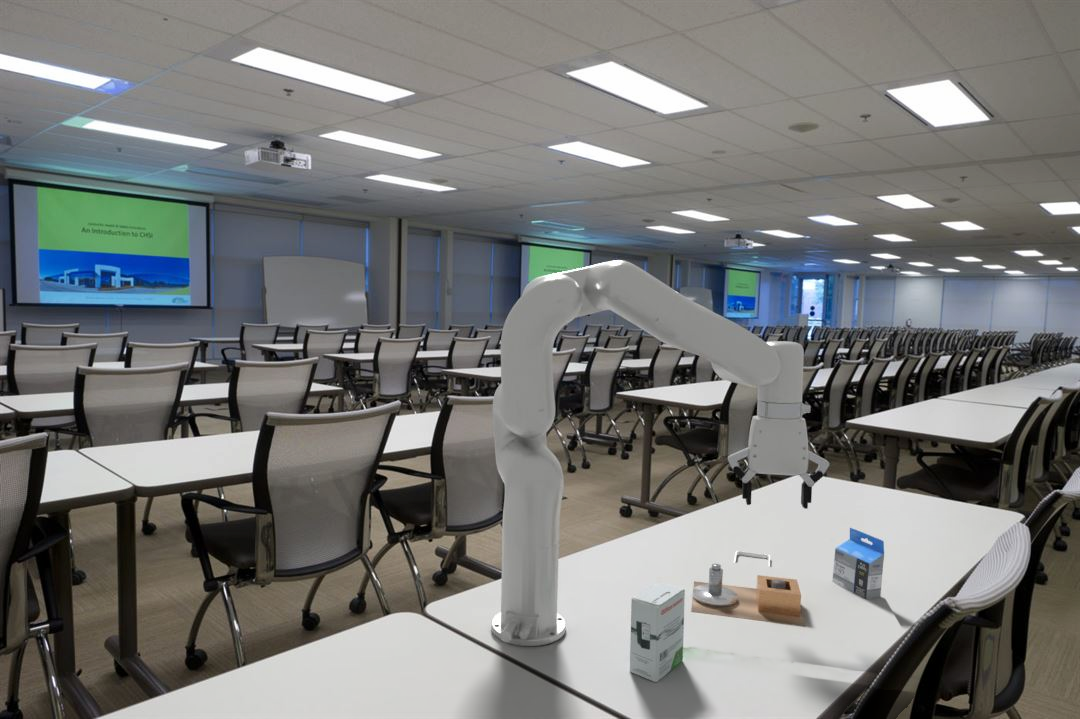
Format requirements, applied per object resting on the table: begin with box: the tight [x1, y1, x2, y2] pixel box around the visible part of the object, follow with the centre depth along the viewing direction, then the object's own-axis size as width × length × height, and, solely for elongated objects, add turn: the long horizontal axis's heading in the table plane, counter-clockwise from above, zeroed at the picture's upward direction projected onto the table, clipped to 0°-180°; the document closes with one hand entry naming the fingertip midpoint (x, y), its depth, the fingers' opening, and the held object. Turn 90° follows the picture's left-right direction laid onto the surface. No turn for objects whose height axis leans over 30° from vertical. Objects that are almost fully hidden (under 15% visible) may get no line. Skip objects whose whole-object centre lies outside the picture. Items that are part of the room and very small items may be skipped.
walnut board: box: [690, 579, 806, 627], centre depth 129 cm, size 14×19×6 cm
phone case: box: [733, 550, 771, 567], centre depth 150 cm, size 7×1×15 cm
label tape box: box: [832, 527, 885, 600], centre depth 136 cm, size 9×4×12 cm, turn 21°
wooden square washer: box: [756, 574, 802, 617], centre depth 127 cm, size 7×7×4 cm
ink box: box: [629, 581, 686, 683], centre depth 108 cm, size 9×5×12 cm, turn 141°
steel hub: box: [692, 563, 737, 608], centre depth 130 cm, size 8×8×6 cm
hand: (776, 504), depth 127 cm, fingers open, 9 cm apart
